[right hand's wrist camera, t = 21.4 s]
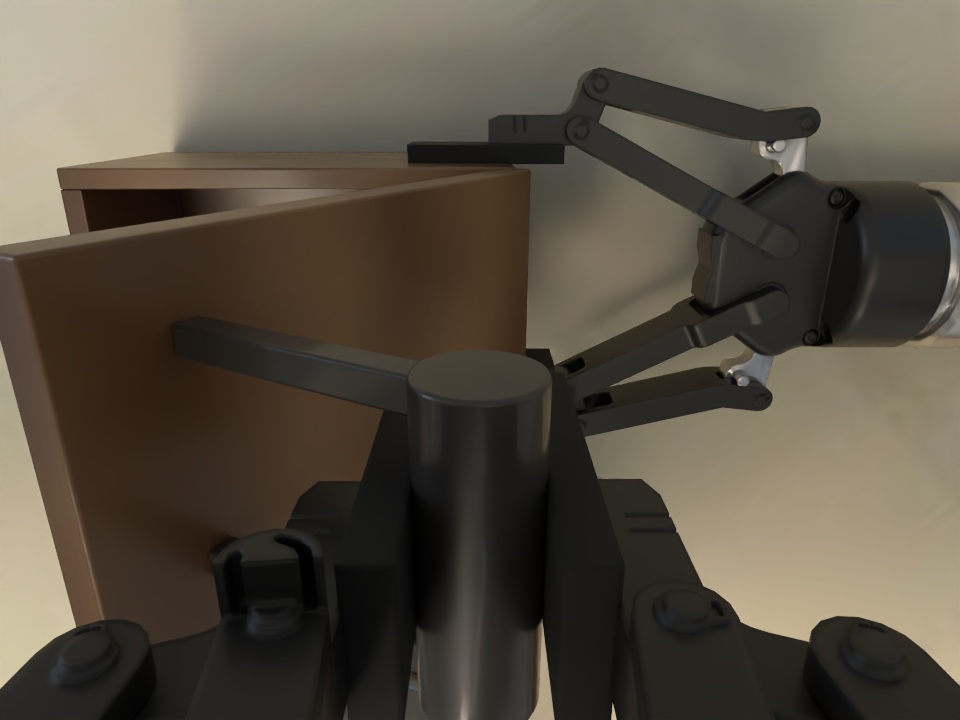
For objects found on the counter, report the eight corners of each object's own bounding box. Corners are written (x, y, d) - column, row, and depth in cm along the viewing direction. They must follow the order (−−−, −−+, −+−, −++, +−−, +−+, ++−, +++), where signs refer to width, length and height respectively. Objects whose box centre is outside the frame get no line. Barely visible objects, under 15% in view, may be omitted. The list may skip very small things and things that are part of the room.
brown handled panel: (91, 693, 14) (451, 931, 10) (-27, 248, 10) (439, 333, 7) (501, 390, 29) (709, 435, 25) (504, 168, 25) (744, 179, 21)
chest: (191, 321, 38) (103, 392, 28) (165, 152, 35) (55, 168, 25) (497, 318, 39) (512, 387, 29) (499, 151, 35) (516, 167, 26)
